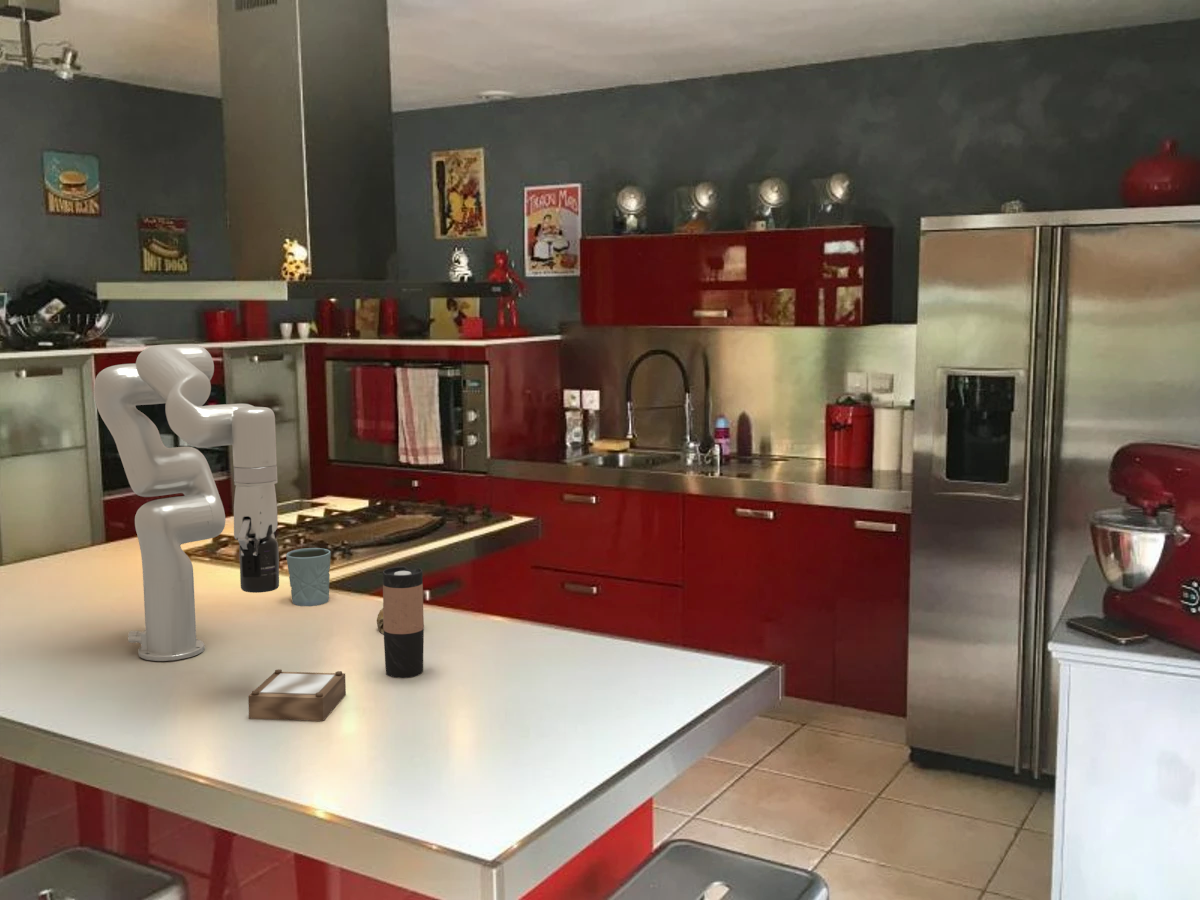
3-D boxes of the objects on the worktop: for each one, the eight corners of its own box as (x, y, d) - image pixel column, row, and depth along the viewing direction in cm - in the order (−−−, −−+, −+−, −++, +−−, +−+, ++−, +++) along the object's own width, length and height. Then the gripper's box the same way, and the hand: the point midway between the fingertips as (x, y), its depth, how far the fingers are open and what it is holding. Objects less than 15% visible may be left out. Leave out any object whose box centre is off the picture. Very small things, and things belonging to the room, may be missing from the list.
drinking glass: (340, 600, 272) (339, 551, 270) (308, 609, 263) (307, 559, 262) (310, 594, 277) (309, 546, 276) (278, 603, 269) (277, 553, 267)
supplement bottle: (268, 594, 204) (266, 528, 202) (233, 592, 205) (230, 527, 204) (286, 585, 210) (284, 521, 209) (252, 583, 212) (249, 520, 210)
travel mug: (391, 680, 214) (389, 577, 212) (379, 669, 221) (377, 568, 218) (429, 674, 218) (428, 572, 215) (417, 663, 224) (415, 564, 222)
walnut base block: (249, 718, 195) (248, 693, 194) (276, 692, 207) (275, 668, 207) (323, 720, 194) (322, 695, 193) (345, 694, 206) (345, 670, 206)
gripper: (253, 468, 214) (257, 561, 216) (216, 482, 197) (220, 583, 199) (292, 469, 213) (295, 562, 216) (258, 482, 196) (262, 583, 198)
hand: (259, 571), depth 207 cm, fingers closed on supplement bottle, 6 cm apart
